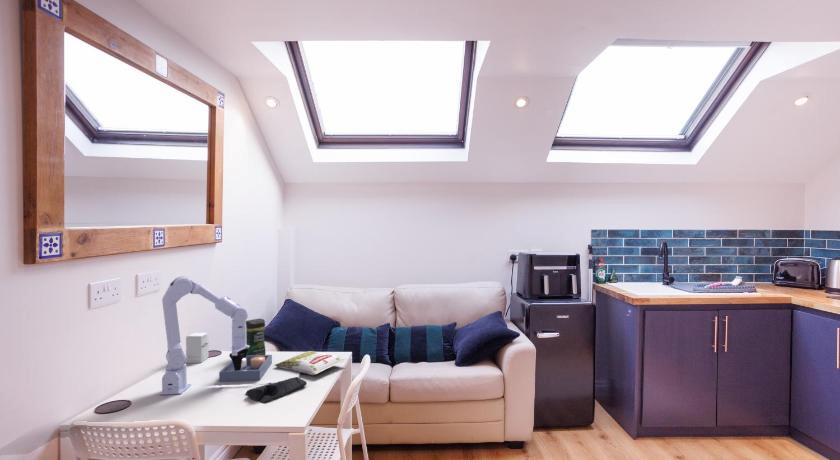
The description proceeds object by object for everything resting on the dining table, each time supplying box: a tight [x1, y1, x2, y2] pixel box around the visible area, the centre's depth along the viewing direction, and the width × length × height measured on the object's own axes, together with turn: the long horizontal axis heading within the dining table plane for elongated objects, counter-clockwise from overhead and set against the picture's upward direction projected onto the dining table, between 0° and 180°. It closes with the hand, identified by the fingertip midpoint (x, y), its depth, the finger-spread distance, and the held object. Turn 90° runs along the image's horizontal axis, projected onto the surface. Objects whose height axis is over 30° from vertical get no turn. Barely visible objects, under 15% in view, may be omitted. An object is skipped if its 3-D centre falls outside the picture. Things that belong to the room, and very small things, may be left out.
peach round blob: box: [251, 356, 265, 370], centre depth 203 cm, size 6×6×4 cm
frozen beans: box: [274, 350, 346, 376], centre depth 205 cm, size 21×6×25 cm
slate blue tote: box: [218, 354, 273, 383], centre depth 197 cm, size 22×16×5 cm
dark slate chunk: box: [244, 376, 308, 404], centre depth 178 cm, size 15×22×5 cm
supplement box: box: [185, 332, 209, 364], centre depth 217 cm, size 7×7×13 cm
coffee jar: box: [246, 318, 267, 356], centre depth 221 cm, size 10×8×19 cm
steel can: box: [234, 357, 247, 371], centre depth 193 cm, size 5×5×7 cm
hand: (239, 367), depth 193 cm, fingers closed on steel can, 5 cm apart
